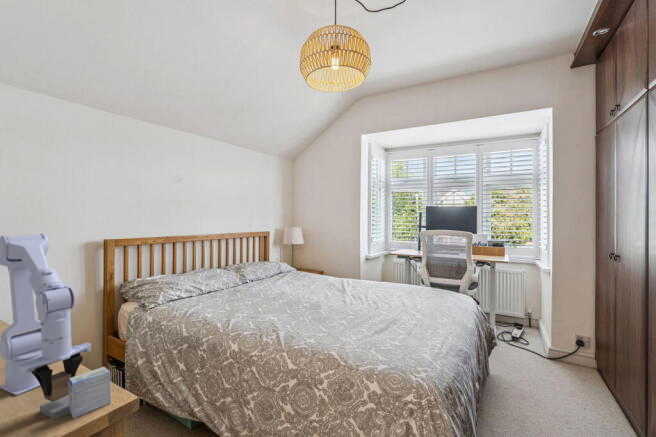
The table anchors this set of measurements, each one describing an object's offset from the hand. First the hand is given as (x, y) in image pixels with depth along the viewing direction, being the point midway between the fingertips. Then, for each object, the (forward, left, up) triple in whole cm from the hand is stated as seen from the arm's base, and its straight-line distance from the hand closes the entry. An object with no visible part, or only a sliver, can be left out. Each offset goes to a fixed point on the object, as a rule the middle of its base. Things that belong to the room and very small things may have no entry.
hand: (58, 390), depth 80 cm
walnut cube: (0, 0, -2) cm, 2 cm away
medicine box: (+7, +4, -5) cm, 9 cm away
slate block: (0, 0, -6) cm, 6 cm away
